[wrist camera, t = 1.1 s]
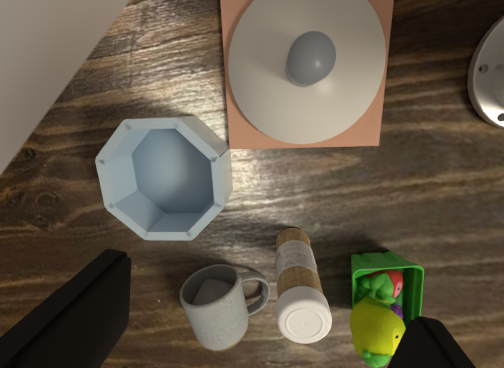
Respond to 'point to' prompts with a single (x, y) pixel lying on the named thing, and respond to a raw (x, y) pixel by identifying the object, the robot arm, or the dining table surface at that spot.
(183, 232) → the bowl
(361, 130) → the mat
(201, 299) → the ceramic mug
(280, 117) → the lid
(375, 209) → the dining table surface
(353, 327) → the fruit basket
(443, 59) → the dining table surface
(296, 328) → the spice bottle
